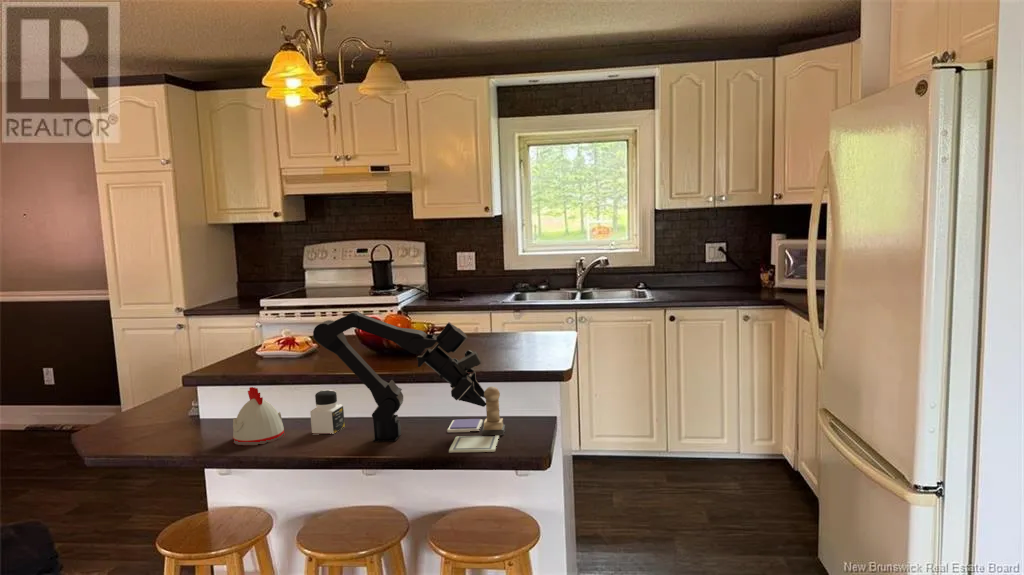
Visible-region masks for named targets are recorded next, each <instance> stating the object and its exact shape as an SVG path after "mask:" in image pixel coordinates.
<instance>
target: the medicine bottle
mask: <svg viewBox="0 0 1024 575" xmlns="http://www.w3.org/2000/svg"><path fill="white" fill-rule="evenodd" d="M337 395H338V394H337V392H336V390H333V389H324V390H321V391H317V392H316V393H315V395H314V398H315V399H314V400H315V406H316V407H315V408H313V409H311V410H310V411H309V412H310V413H309V414H310V424H311V425H310V426H311V433H330V434H331V433H332V434H334V433H336V432H337V431H339V430H340V429H341V430H343V429H344V428H345V412H344V405H343V404H340V403H339V404H338V398H337V397H338V396H337ZM343 427H344V428H343ZM342 428H343V429H342ZM341 430H340V431H341ZM340 431H339V432H340ZM337 433H338V432H337ZM337 433H336V434H337ZM334 435H335V434H334Z"/></svg>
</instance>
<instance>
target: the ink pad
mask: <svg viewBox="0 0 1024 575" xmlns="http://www.w3.org/2000/svg"><path fill="white" fill-rule="evenodd" d="M483 424H484V419H481V418H465V419H462V418H461V419H460V418H459V419H453V420H452V421H451V423H450V424H449V427H448V428H447V429H446V431H447V433H471V432H470V431H479V432H480V430H481V428H482V425H483ZM480 427H481V428H480ZM479 429H480V430H479Z"/></svg>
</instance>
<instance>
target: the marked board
mask: <svg viewBox="0 0 1024 575" xmlns="http://www.w3.org/2000/svg"><path fill="white" fill-rule="evenodd" d="M498 439H499V440H500V435H495V436H482V435H466V436H464V435H463V436H461V435H460V436H455V438H454V440H453V442H452V443H451V445H450V447H449V449H448V453H449V454H450V453H485V452H487V453H491V452H492V453H495V452H496V449H497V447H498V443H499V440H498ZM496 446H497V447H496Z"/></svg>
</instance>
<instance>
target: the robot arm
mask: <svg viewBox="0 0 1024 575" xmlns="http://www.w3.org/2000/svg"><path fill="white" fill-rule="evenodd" d="M352 328H355V329H357V330H361V331H363V332H366V333H368V334H372V335H374V336H377V337H380V338H382V339H385V340H388V341H391V342H393V343H394V344H396V345H398V346H399V347H400V348H402V349H403V350H404V351H407V352H408V353H410V354H413V355H418V356H417V357H416V360H417V367H418V368H421V367H422V366H423V365H424V364H426V365H427V366H429V367H430V368H431V369H432V370H433V371H434V372H436V373H437V374H438V375H439V376H438V378H440V379H444V380H445V381H446V382H447V383H448V384H450V388H451V390H450V395H451V396H450V397H452V398H453V399H454V400H455V401H461V402H465V403H469V404H473V405H476V406H479V407H482V408H485V407H486V400H484V399H485V397H484V392H485V390H484V388H483V387H482V386H481V384H480V383H479V382H478V380H477V376H476V375H477V374H476V371H475V368H474V367H477V366H479V365H481V364H482V360H481V358H480V356H479V354H478V352H477V351H476V350H475V351H472V350H470V349H468V350H466V351H465V352H464V357H463V356H462V358H460V359H458V358H455V357H453V358H452V356H450V355H449V354H450V353H453V354H454V353H456V351H457V350H459V348H461V346H462V345H463V343H465V341H467V339H468V335H467V334H466V333H465V331H463V330H461V328H459V327H457V326H456V325H453V324H452V323H451V322H448V323H446V324H445V326H444V328H443V329H442V330H441V331H440V333H439V334H429V333H426V332H425V331H423V330H420V329H419V330H418V329H415V328H406V327H405V328H404V327H399V326H396V325H393V324H390V323H387V322H385V321H383V320H380V319H377V318H373V317H371V316H368V315H365V314H363V313H361V312H359V311H351V312H350V313H348V314H347V315H344V316H343V317H340V318H338V319H336V320H324V321H323V322H320V323H319V324H317V325H316V326H315V327H314V329H313V334H312V337H313V340H314V341H315V342H317V344H318V345H320V346H322V347H323V348H325V350H327V351H330V352H331V353H334V354H335V355H337V357H338V358H339V359H340V360H341V361H342V362H343V363H344V364H345V365H346V367H348V369H349V370H350V371H352V373H353V374H354V375H355V376H356V377H357V378H358V379H359V380H360V381H361V382H362V384H363V385H364V386H365V387H366V388H367V389H368V390H369V391H370V392H371V394H372V395H371V396H372V397H373V398H372V399H373V400H374V402H375V403H376V405H377V407H376V408H375V410H374V411H373V412H372V414H371V417H372V419H373V420H372V421H373V434H374V435H373V436H374V437H373V438H372V442H373V443H374V442H375V443H377V442H379V443H380V442H383V443H385V442H396V441H397V440H398V439H399V437H400V436H401V434H402V432H401V430H402V429H401V420H399V415H398V414H396V413H397V412H398V411H400V408H401V406H402V404H403V402H404V395H403V393H402V391H403V389H402V388H401V387H398V385H397V384H396V382H395V381H394V380H393V379H391V380H390V381H389V382H388V381H386V380H384V379H382V378H381V377H380V376H379V374H377V372H376V371H375V370H374V368H372V367H371V366H370V365H369V364H368V363H367V361H366V360H364V359H363V357H362V356H361V355H360V354H359V353H358V352H357V351H356V350H355V348H353V347H352V345H351V344H350V343H349V342H348V340H347V337H346V335H345V333H344V332H345V331H348V330H350V329H352ZM434 345H435V346H434ZM433 346H434V347H433ZM432 347H433V348H432ZM431 348H432V349H431ZM424 351H425V352H424ZM423 352H424V353H423ZM422 353H423V354H422ZM419 354H422V355H419ZM467 372H471V373H470V374H468V373H467ZM483 398H484V399H483Z"/></svg>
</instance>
